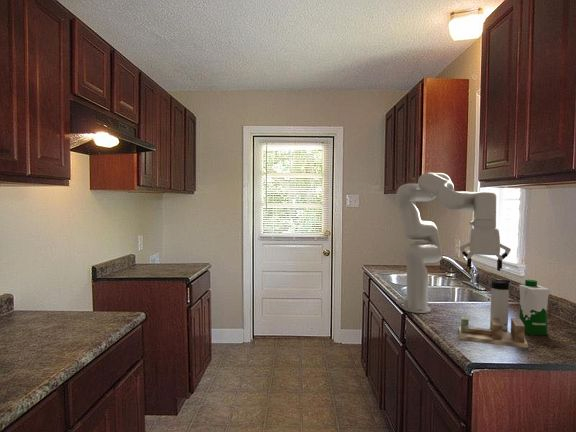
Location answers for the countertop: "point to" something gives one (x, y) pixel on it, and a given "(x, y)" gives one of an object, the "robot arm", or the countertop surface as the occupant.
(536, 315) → the milk carton
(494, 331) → the sliding jaw
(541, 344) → the countertop surface
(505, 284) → the travel mug
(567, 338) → the countertop surface
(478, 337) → the base
